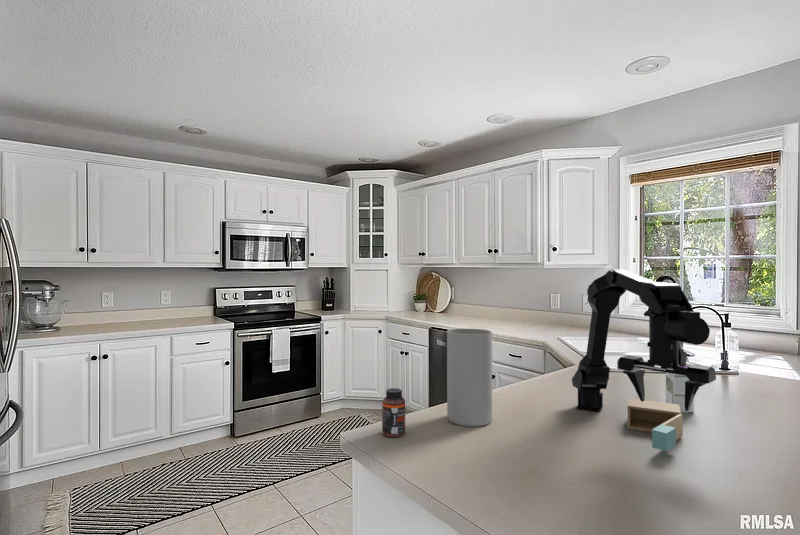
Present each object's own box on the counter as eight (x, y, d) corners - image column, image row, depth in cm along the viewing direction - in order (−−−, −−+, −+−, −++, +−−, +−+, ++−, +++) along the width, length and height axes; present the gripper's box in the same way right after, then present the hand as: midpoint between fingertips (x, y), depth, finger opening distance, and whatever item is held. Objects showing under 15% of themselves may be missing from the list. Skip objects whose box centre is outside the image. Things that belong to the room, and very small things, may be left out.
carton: (627, 428, 115) (627, 405, 115) (628, 419, 122) (628, 398, 122) (681, 436, 109) (680, 412, 109) (679, 426, 116) (679, 404, 116)
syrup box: (694, 413, 128) (694, 364, 128) (672, 411, 129) (672, 363, 129) (686, 407, 134) (685, 360, 134) (665, 406, 135) (664, 359, 135)
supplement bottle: (400, 439, 107) (400, 394, 107) (378, 436, 109) (378, 391, 110) (408, 431, 113) (408, 388, 113) (387, 428, 115) (387, 386, 115)
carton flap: (666, 458, 96) (666, 433, 96) (652, 453, 98) (651, 429, 98) (693, 439, 107) (693, 416, 107) (679, 435, 109) (679, 413, 109)
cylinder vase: (460, 410, 131) (459, 327, 131) (499, 418, 123) (498, 330, 124) (439, 421, 120) (439, 332, 121) (480, 431, 113) (480, 335, 114)
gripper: (722, 339, 97) (723, 408, 97) (635, 330, 112) (635, 391, 112) (707, 344, 90) (708, 419, 90) (616, 334, 105) (616, 399, 104)
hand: (664, 405), depth 99 cm, fingers open, 9 cm apart
